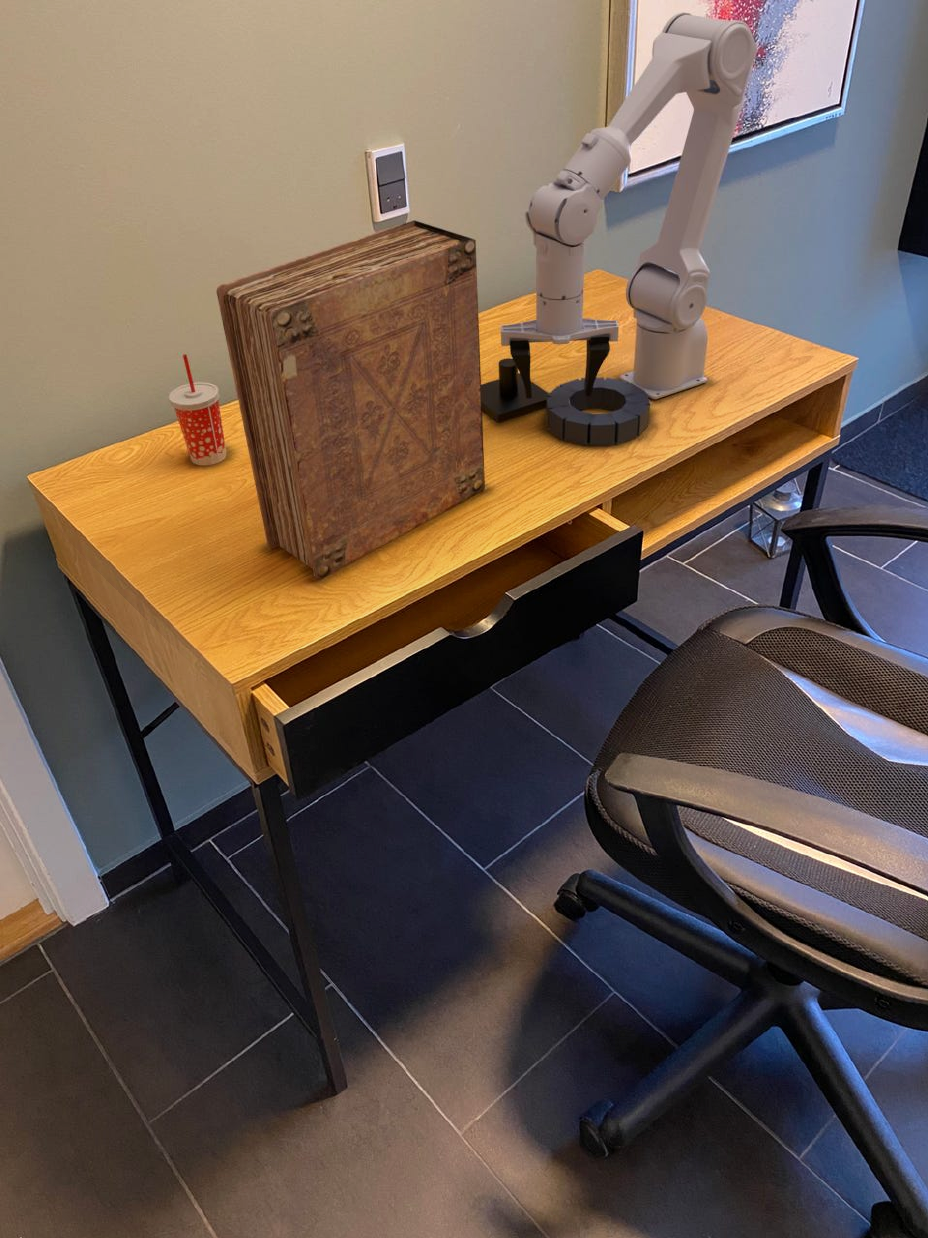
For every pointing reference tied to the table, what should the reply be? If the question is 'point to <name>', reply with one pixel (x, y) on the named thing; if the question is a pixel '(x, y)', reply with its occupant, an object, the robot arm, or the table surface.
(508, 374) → the peg stand
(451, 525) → the table surface
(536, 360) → the table surface
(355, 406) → the book
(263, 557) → the table surface
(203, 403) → the beverage cup
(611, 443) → the hoop
